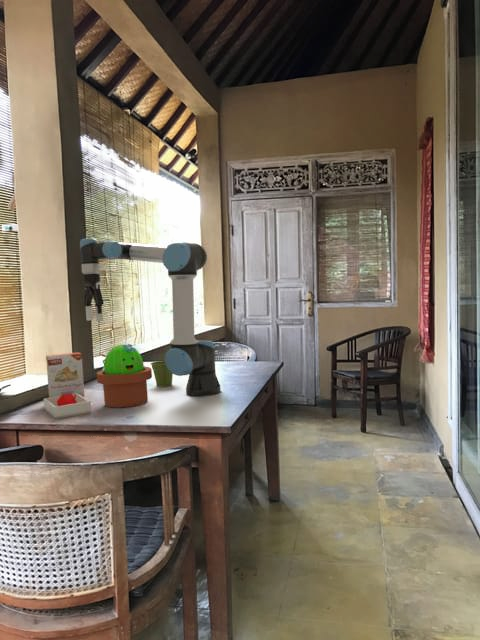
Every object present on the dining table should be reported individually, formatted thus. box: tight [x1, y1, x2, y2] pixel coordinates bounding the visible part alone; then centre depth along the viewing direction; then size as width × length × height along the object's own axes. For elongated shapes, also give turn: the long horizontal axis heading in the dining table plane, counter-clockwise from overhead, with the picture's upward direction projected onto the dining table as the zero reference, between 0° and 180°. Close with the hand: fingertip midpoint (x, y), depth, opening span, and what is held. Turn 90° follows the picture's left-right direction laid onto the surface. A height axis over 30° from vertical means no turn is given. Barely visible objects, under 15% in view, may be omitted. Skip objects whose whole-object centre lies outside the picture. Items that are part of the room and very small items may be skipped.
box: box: [43, 393, 92, 420], centre depth 199 cm, size 20×13×4 cm, turn 32°
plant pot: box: [149, 360, 174, 388], centre depth 242 cm, size 12×12×11 cm
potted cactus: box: [96, 343, 153, 409], centre depth 207 cm, size 22×22×25 cm
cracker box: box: [45, 352, 86, 398], centre depth 215 cm, size 14×6×21 cm, turn 118°
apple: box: [57, 393, 77, 406], centre depth 199 cm, size 7×7×8 cm
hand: (94, 320), depth 227 cm, fingers open, 13 cm apart
